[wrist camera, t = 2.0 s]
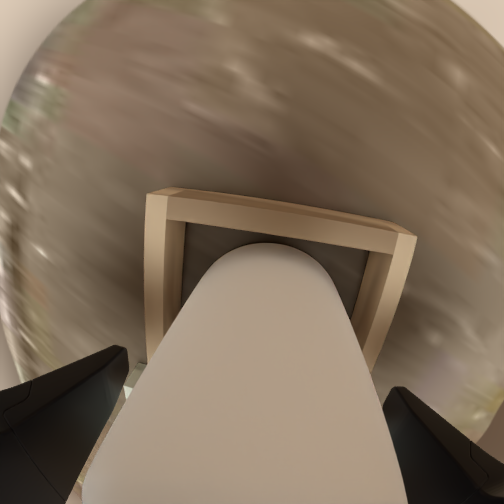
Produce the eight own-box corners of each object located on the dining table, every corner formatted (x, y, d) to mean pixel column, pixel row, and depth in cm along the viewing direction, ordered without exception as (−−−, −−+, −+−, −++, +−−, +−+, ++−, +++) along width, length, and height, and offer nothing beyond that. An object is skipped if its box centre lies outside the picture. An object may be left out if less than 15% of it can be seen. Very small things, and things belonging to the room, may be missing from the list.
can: (177, 328, 14) (60, 550, 3) (234, 212, 12) (15, 511, 1) (291, 380, 15) (287, 607, 3) (364, 282, 13) (494, 547, 1)
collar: (338, 393, 15) (345, 425, 12) (165, 367, 15) (150, 396, 13) (393, 222, 12) (417, 236, 9) (170, 187, 12) (146, 193, 10)
